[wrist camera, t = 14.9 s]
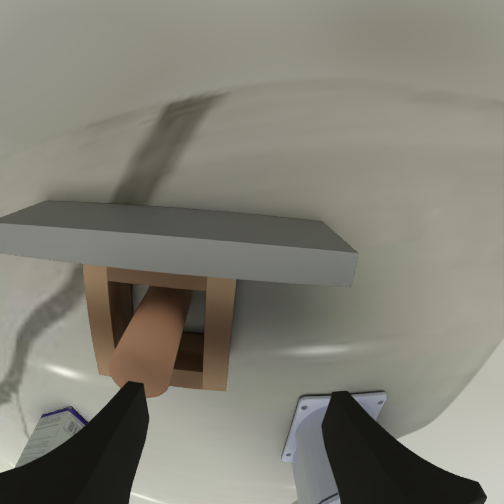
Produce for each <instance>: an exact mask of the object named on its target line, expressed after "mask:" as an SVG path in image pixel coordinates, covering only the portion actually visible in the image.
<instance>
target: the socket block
mask: <svg viewBox="0 0 504 504" xmlns="http://www.w3.org/2000/svg"><path fill="white" fill-rule="evenodd" d="M83 272H84V283H85V292H86V300H87V308H88V315H89V322H90V329H91V335H92V341H93V346H94V352H95V357H96V362H97V367H98V371H99V374H100V375H105V376H110V377H111V375H110V372H109V361H110V359H111V357H112V355H113V353H114V351H115V349H116V347H117V345H118V343H119V342H120V340H121V338H122V336H123V334H124V332H125V330H126V328H127V327H128V325H129V323H130V321H131V319H132V317H133V311H132V294H131V284H140V285H149V286H158V287H168V288H178V289H188V290H199V291H206V310H205V331H204V334H193V333H183V332H182V335H181V339H180V343H179V347H178V351H177V355H176V359H175V363H174V367H173V371H172V376H171V380H170V384H169V386H175V387H183V388H193V389H203V390H215V391H226V386H227V375H228V364H229V352H230V341H231V330H232V320H233V309H234V298H235V288H236V279H228V278H216V277H205V276H194V275H183V274H172V273H162V272H152V271H142V270H133V269H123V268H114V267H105V266H96V265H87V264H83Z"/></svg>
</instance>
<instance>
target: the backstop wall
mask: <svg viewBox="0 0 504 504" xmlns="http://www.w3.org/2000/svg"><path fill="white" fill-rule="evenodd" d="M0 253H1V254H8V255H16V256H23V257H31V258H38V259H46V260H54V261H62V262H70V263H79V264H87V265H96V266H105V267H114V268H123V269H133V270H142V271H152V272H162V273H172V274H183V275H194V276H205V277H216V278H228V279H240V280H253V281H266V282H279V283H293V284H308V285H323V286H339V287H351V285H352V281H353V276H354V272H355V267H356V263H357V258H358V252H357V251H356V250H354V249H353V248H352V247H351V246H350V245H349V244H348V243H347V242H345V241H344V240H343V239H342V238H341V237H340V236H339V235H337V234H336V233H335V232H334V231H333V230H332V229H331V228H329V227H328V226H327V225H326V224H325V223H324V222H321V221H312V220H303V219H294V218H284V217H275V216H265V215H255V214H244V213H233V212H222V211H210V210H198V209H185V208H172V207H158V206H142V205H126V204H108V203H88V202H65V201H44V202H41V203H38V204H35V205H33V206H30V207H27V208H25V209H22V210H19V211H17V212H14V213H11V214H9V215H6V216H4V217H1V218H0Z"/></svg>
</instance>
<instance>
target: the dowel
mask: <svg viewBox="0 0 504 504" xmlns="http://www.w3.org/2000/svg"><path fill="white" fill-rule="evenodd" d="M190 301H191V292H190V290H188V289H178V288H168V287H158V286H150V287H149V289H148V291H147V293H146V294H145V296H144V298H143V300H142V301H141V303H140V305H139V307H138V308H137V310H136V312H135V314H134V316H133V317H132V319H131V321H130V323H129V325H128V327H127V328H126V330H125V332H124V334H123V336H122V338H121V340H120V342H119V343H118V345H117V347H116V349H115V351H114V353H113V355H112V357H111V359H110V361H109V372H110V375H111V377H112V379H113V380H114V382H115V383H116V384H117V385H118V386H119V387H120V388H122V387H123V386H124V385H125V383H126V382H128V381H133V382H139V383H144V389H145V395H146V398H152V397H157V396H159V395H161V394H163V393H164V392H165V391H166V390H167V389H168V387H169V384H170V380H171V376H172V371H173V367H174V363H175V359H176V355H177V351H178V347H179V343H180V339H181V335H182V332H183V328H184V324H185V320H186V316H187V313H188V309H189V305H190Z"/></svg>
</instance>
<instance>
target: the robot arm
mask: <svg viewBox="0 0 504 504" xmlns="http://www.w3.org/2000/svg"><path fill="white" fill-rule="evenodd" d="M386 399H387V395H386V393H385V392H378V393H367V394H354V395H351V394H350V393H349V392H348V391H337V392H332V395H331V396H307V397H302V398H301V399H300V400H299V402H298V406H297V409H296V412H295V416H294V419H293V422H292V426H291V429H290V432H289V435H288V438H287V441H286V445H285V448H284V451H283V454H282V457H281V460H282V462H285V463H287V462H292V468H293V473H294V479H295V484H296V490H297V496H298V501H299V504H484V502H485V501H486V499H487V496H486V494H485V493H484V491H483V489H482V487H481V486H480V484H479V482H476V481H473V480H470V479H467V478H464V477H460V476H457V475H455V474H453V473H450V472H448V471H445V470H443V469H441V468H439V467H437V466H435V465H433V464H431V463H430V462H428V461H426V460H424V459H423V458H421V457H419V456H418V455H416V454H415V453H413V452H412V451H411V450H409V449H408V448H406V447H405V446H404V445H402V444H401V443H400V442H398V441H397V440H396V439H395V438H394V437H393V436H391V435H390V434H389V433H388V432H387V431H386V430H385V429H384V428H382V427H381V426H380V425H379V424H378V423H377V421H376V419H377V417H378V415H379V413H380V411H381V409H382V407H383V405H384V403H385V401H386ZM302 406H304V407H302ZM148 423H149V413H148V407H147V402H146V395H145V389H144V383H139V382H133V381H128V382H126V383H125V385H124V386H123V387H122V388H121V389H120V390H119V391H118V393H117V394H116V395H115V396H114V397H113V398H112V399H111V400H110V401H109V402H108V404H107V405H106V406H105V407H104V408H103V409H102V410H101V411H100V412H99V413H98V414H97V415H96V416H95V417H94V418H93V419H92V420H91V421H89V422H88V423H87V424H86V425H85V426H84V427H83V428H82V429H81V430H79V431H78V432H77V433H76V434H74V435H73V436H72V437H71V438H69V439H68V440H67V441H65V442H64V443H62V444H61V445H59V446H58V447H56V448H55V449H53V450H52V451H50V452H48V453H47V454H45V455H43V456H41V457H39V458H37V459H35V460H33V461H31V462H29V463H27V464H24V465H22V466H20V467H17V468H14V469H11V470H8V471H5V472H2V473H0V504H129V498H130V492H131V488H132V484H133V480H134V477H135V473H136V470H137V467H138V463H139V460H140V457H141V454H142V450H143V447H144V444H145V440H146V435H147V429H148Z"/></svg>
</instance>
